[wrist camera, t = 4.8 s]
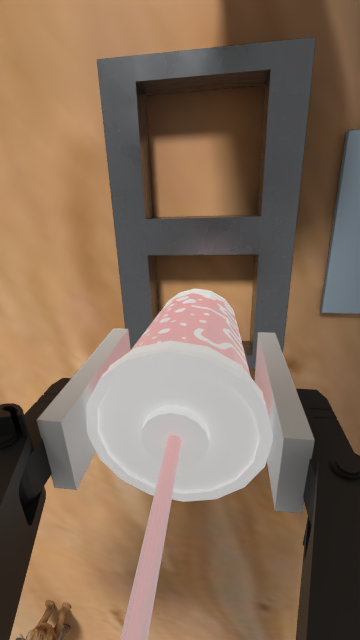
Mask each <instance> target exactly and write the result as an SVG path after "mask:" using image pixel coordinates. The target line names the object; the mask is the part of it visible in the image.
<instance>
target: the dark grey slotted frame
mask: <svg viewBox="0 0 360 640" xmlns="http://www.w3.org/2000/svg"><path fill="white" fill-rule="evenodd" d="M315 42H316V37H311V38H301V39H291V40H281V41H272V42H262V43H252V44H242V45H233V46H223V47H213V48H203V49H194V50H184V51H174V52H164V53H155V54H145V55H135V56H125V57H116V58H106V59H97V67H98V76H99V86H100V95H101V105H102V114H103V124H104V133H105V142H106V152H107V161H108V171H109V180H110V189H111V199H112V208H113V218H114V227H115V237H116V246H117V255H118V265H119V274H120V284H121V293H122V302H123V312H124V321H125V329H128V331H129V340H130V350H131V349H132V348H133V347H134V345H135V344H136V343H137V341H138V340H139V339H140V337H141V336H142V335H143V334H144V332H145V331H146V330H147V328H148V327H149V326H150V324H151V323H152V322H153V320H154V319H155V318H156V317H157V315H158V314H159V305H158V288H157V272H156V255H246V254H255V261H254V278H253V295H252V311H251V328H250V341H242V345H243V349H244V353H245V357H246V360H247V364H248V368H249V369H255V367H256V353H257V339H258V332H268V333H275V334H276V337H277V339H278V342H279V345H280V347H281V350H282V353H283V346H284V336H285V327H286V317H287V308H288V298H289V289H290V279H291V270H292V260H293V251H294V241H295V232H296V222H297V213H298V203H299V194H300V184H301V175H302V165H303V156H304V146H305V137H306V127H307V118H308V108H309V99H310V89H311V80H312V70H313V61H314V52H315ZM264 85H265V93H264V109H263V126H262V143H261V160H260V177H259V194H258V210H257V215H226V216H188V217H153V205H152V189H151V172H150V156H149V139H148V123H147V106H146V95H156V94H168V93H180V92H192V91H204V90H216V89H228V88H240V87H252V86H264Z"/></svg>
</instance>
